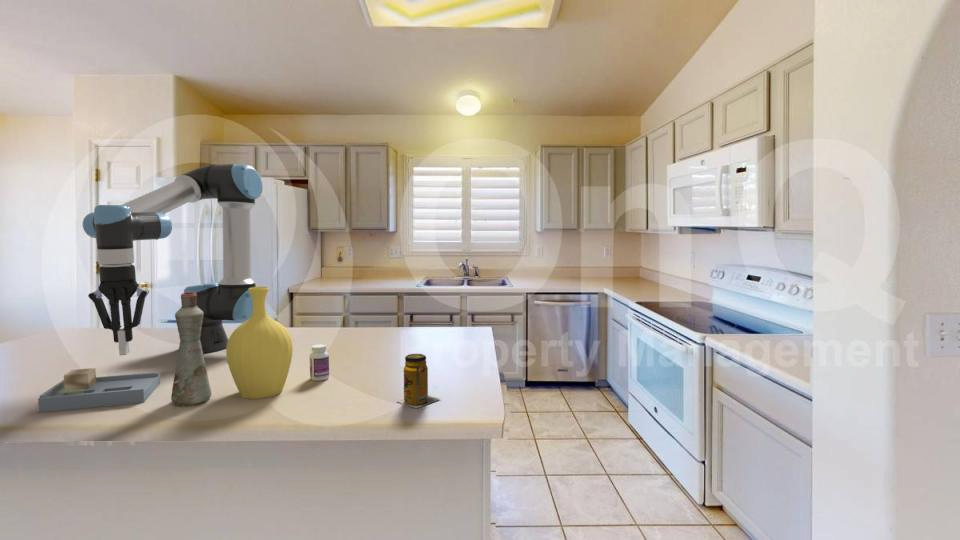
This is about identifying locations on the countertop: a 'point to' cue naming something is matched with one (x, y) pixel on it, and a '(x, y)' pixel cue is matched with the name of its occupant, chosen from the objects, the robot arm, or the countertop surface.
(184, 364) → the bottle
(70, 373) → the block
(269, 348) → the vase
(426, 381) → the condiment
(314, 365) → the pill bottle
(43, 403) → the blue gray tray
